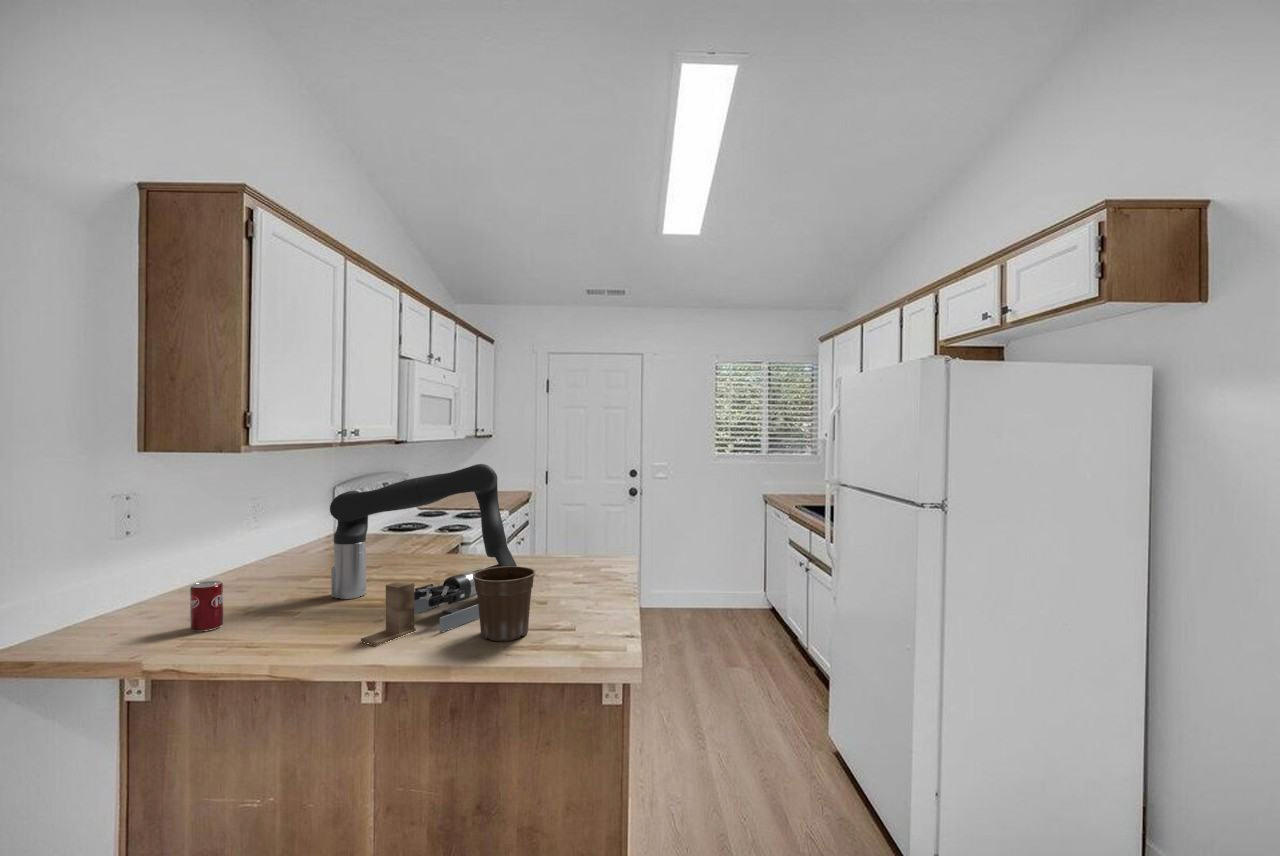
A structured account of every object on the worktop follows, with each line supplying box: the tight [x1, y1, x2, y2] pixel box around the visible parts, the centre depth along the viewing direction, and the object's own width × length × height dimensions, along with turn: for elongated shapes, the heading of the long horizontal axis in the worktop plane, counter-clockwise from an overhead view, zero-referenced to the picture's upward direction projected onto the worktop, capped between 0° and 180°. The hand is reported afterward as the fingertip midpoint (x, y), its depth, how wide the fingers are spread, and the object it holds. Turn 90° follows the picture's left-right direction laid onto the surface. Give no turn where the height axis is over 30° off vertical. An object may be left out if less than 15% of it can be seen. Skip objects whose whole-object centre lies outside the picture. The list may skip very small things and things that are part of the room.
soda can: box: [189, 580, 224, 632], centre depth 166 cm, size 7×7×12 cm
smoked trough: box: [414, 594, 479, 633], centre depth 174 cm, size 16×19×4 cm
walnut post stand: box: [360, 580, 417, 647], centre depth 159 cm, size 12×6×13 cm, turn 151°
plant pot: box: [472, 565, 536, 642], centre depth 162 cm, size 16×16×16 cm
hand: (418, 600), depth 167 cm, fingers open, 8 cm apart
